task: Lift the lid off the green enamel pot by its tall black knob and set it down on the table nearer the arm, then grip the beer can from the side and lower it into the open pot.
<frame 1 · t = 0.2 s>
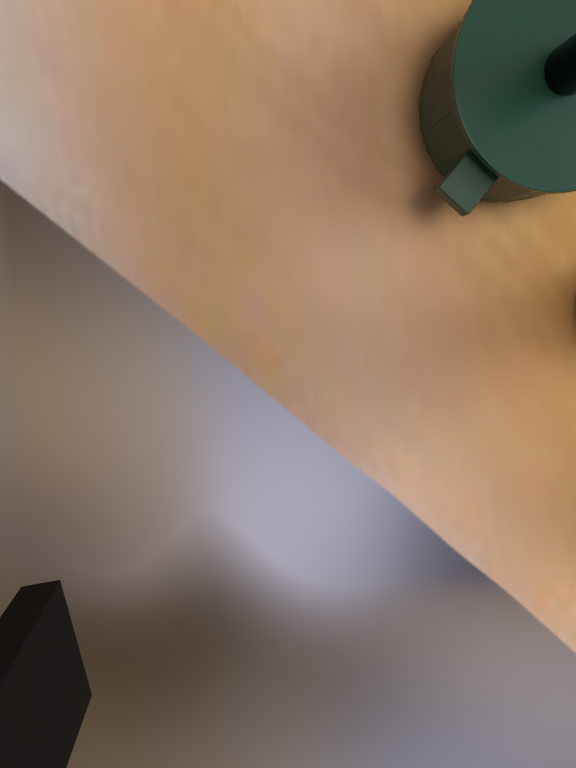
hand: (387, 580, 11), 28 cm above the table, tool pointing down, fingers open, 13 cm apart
pot lid: (561, 73, 30), point 6 cm above the table, touching pot
pot: (505, 109, 36), on the table
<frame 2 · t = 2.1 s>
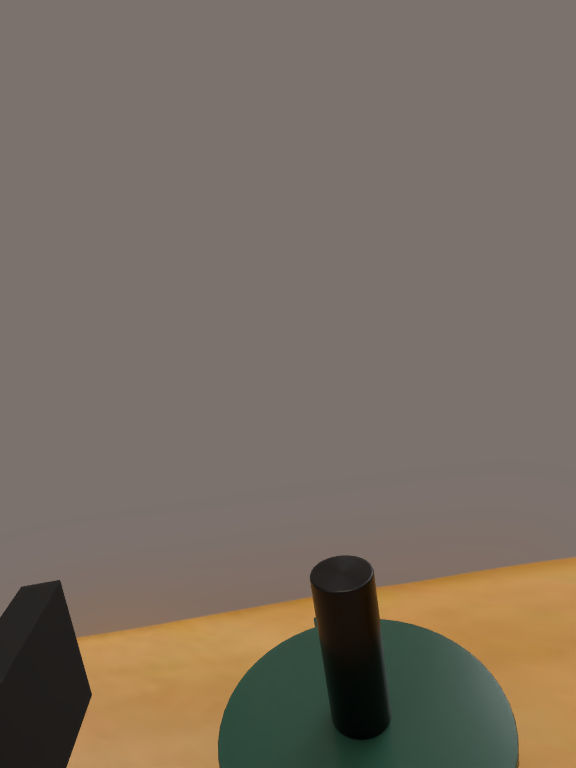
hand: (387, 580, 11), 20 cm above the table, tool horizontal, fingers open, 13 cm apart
pot lid: (362, 723, 24), point 6 cm above the table, touching pot
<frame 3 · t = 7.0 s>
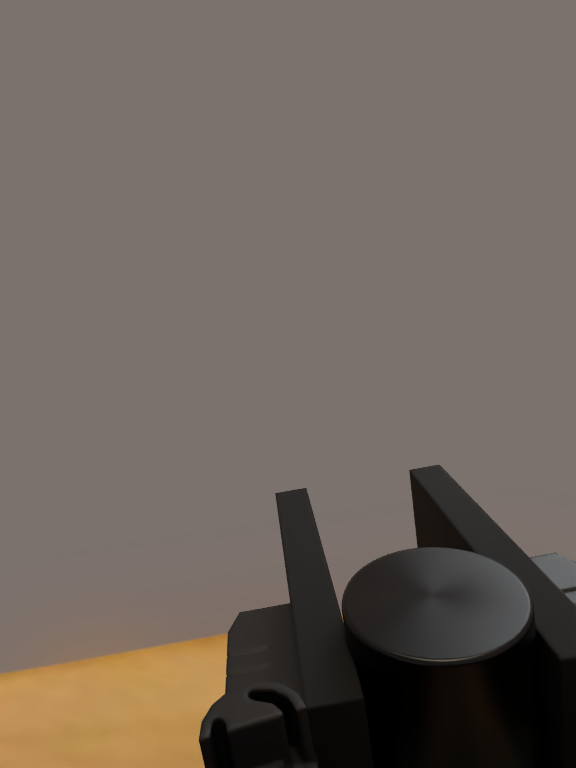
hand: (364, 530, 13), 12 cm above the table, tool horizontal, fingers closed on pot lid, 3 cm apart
when the fingers open (6 cm above the table, at t = 14.9 s): pot lid stays where it is, point 1 cm above the table.
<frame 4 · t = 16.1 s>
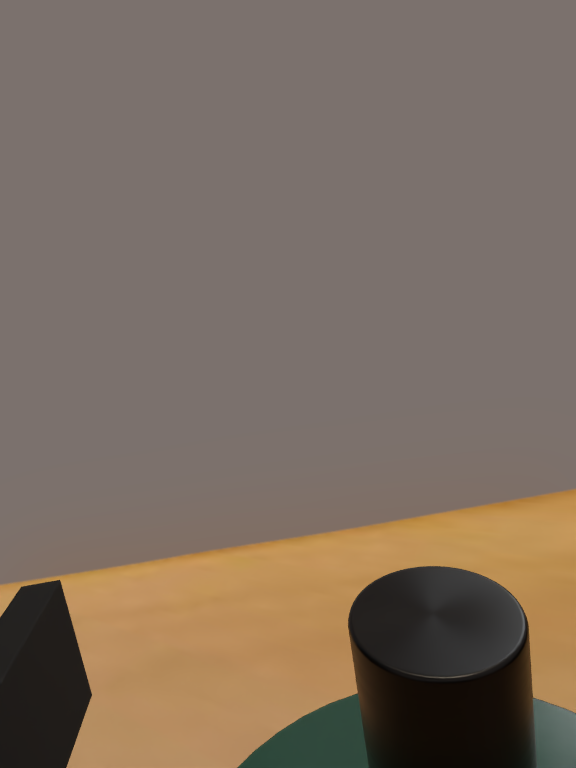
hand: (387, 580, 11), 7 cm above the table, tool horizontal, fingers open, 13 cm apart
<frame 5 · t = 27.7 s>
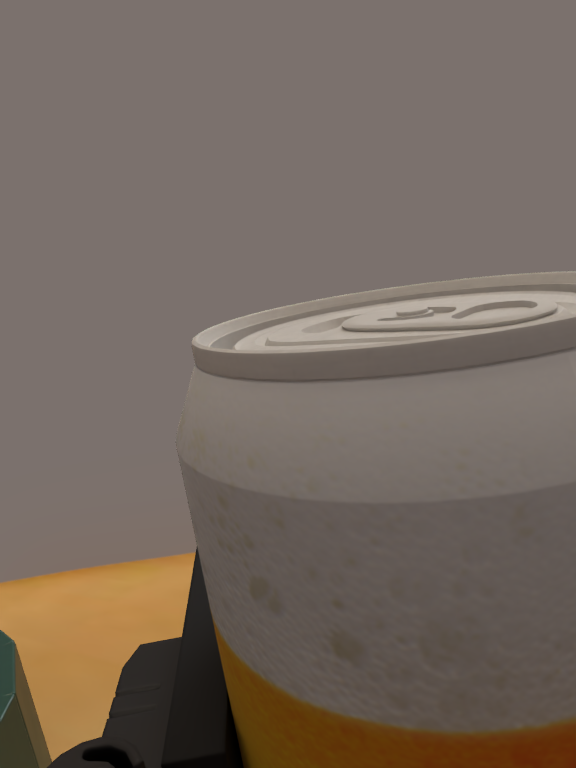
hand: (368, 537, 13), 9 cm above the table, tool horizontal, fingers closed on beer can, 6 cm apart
when the fingers open (9 cm above the table, at t = 36.1 s): beer can stays where it is, resting on pot.
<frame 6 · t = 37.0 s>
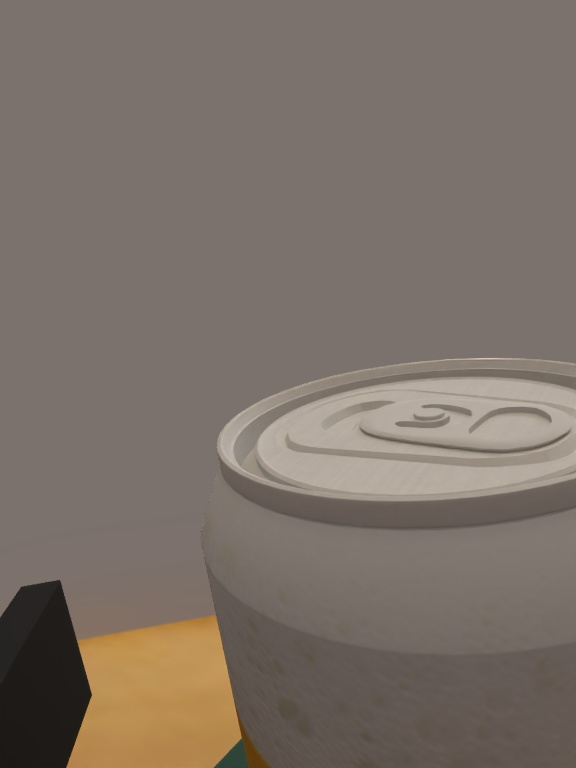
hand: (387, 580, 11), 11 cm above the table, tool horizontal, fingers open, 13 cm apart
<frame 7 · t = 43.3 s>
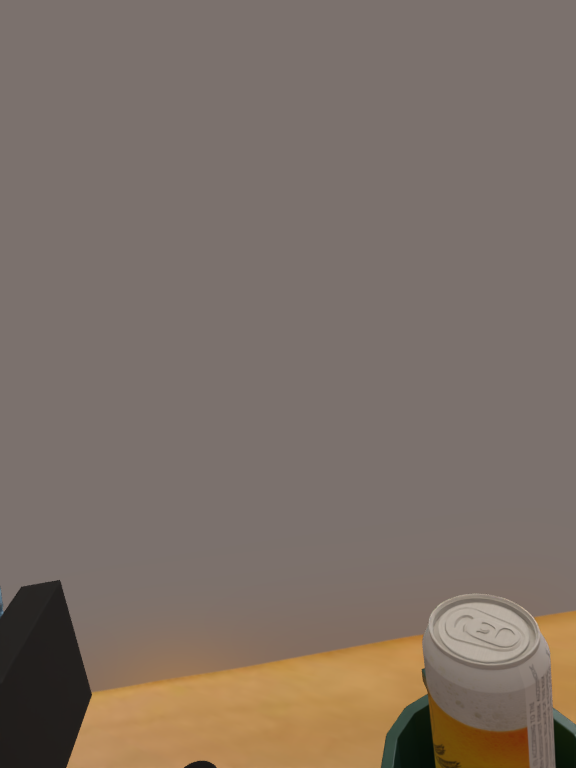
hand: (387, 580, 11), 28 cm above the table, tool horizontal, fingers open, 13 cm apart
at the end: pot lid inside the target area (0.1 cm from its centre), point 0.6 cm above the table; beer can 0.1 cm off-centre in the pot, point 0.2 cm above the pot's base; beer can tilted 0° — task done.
